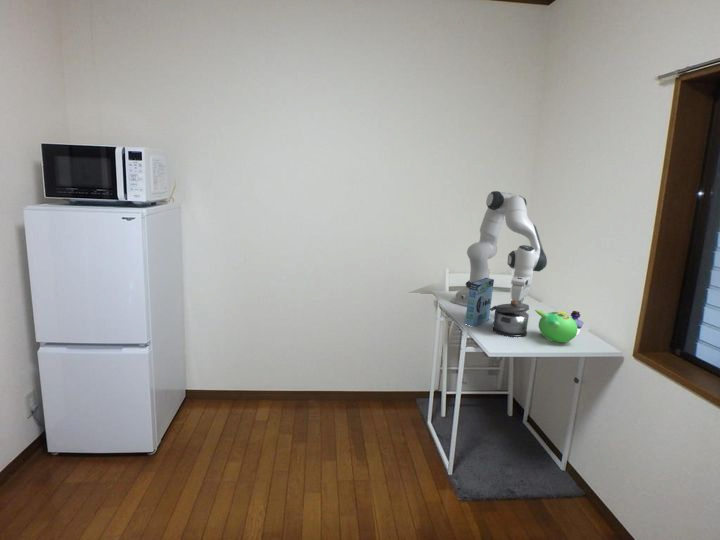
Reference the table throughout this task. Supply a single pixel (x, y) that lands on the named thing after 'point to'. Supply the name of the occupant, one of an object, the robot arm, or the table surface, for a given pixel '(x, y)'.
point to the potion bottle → (575, 317)
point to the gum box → (479, 301)
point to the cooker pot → (511, 324)
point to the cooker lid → (510, 308)
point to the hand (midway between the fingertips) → (519, 306)
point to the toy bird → (557, 326)
